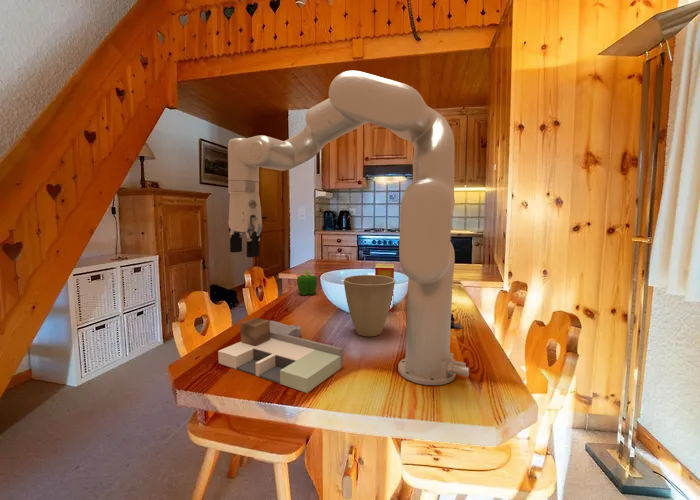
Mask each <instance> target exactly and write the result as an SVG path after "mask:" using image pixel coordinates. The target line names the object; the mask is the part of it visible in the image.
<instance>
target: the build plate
mask: <svg viewBox="0 0 700 500" xmlns="http://www.w3.org/2000/svg"><path fill="white" fill-rule="evenodd" d="M450 330H464V327H463V326H462V325H461V324H460V323H458V322H455V317H454V313H452V312H451V328H450Z"/></svg>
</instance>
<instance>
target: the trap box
mask: <svg viewBox="0 0 700 500" xmlns="http://www.w3.org/2000/svg"><path fill="white" fill-rule="evenodd" d="M343 351H344V348H343V347H340V346H334V345H332V344H331V345H330V344H327V343H323V342H317V341H314V340H310V339H306V338H302V337H300V338H299V337H294V336H290V335H286V334H282V333H278V332H274V331H270V340H269V341H267V342H264V343H262V344H260V345H258V346H252V345H249V344H245V343H242V342H241V341H239V342H236V343H233V344H231V345H229V346H226V347H224V348H222V349H219V350H218V351H217V353H218V354H217V355H218V357H217V358H218V364H220V365H223V366H226V367H229V368H232V369H235V370H238V371H240V372H243V373H247V374H249V375H252V376H255V377H259V378H262V379H265V380H267V381H270V382H273V383H276V384H279V385H283V386H286V387H288V388H291V389H294V390H297V391H299V392H303V393H306V394H308V393H310V392H311V391H312V390H314V388H316V387H318V386H319V385H320V384H322V382H324V381H326V380H327V379H328V378H329V377H331V376H332V375H334V374H335V373H337V372H338V371H339V370H341V369H342V368H343V365H344V364H343V363H344V361H343V357H344V355H343V354H344V352H343Z"/></svg>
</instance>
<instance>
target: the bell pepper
mask: <svg viewBox="0 0 700 500" xmlns="http://www.w3.org/2000/svg"><path fill="white" fill-rule="evenodd" d="M296 282H297V283H296V285H297V289H298V292H299V294H300V295H302V296H308V295H309V296H310V295H314V294H315V293H316V290H317V285H318V283H317V282H318V278H317V276H316V275H314V274H313V275H312V274H309V270H308V269H305V274H301V275H299V276H297V278H296Z"/></svg>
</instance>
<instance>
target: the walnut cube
mask: <svg viewBox="0 0 700 500" xmlns="http://www.w3.org/2000/svg"><path fill="white" fill-rule="evenodd" d="M270 321H271V320H268V319H267V320H266V319H263V318H259V317H254V318H251V319H248V320H244V321H241V322H240V342H242V343H245V344H249V345H252V346H258V345H260V344H262V343H264V342H267V341H269V340H270Z"/></svg>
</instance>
